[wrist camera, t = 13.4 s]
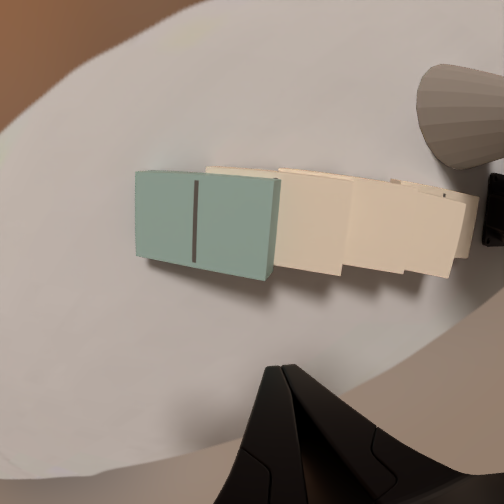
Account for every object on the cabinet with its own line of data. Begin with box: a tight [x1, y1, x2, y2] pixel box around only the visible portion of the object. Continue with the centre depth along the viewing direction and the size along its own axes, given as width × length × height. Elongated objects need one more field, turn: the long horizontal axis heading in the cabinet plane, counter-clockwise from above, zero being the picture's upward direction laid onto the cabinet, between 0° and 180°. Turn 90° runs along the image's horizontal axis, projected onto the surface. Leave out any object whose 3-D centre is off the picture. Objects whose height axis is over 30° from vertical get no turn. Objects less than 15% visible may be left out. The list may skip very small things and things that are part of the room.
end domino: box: [390, 179, 479, 258], centre depth 20 cm, size 2×5×8 cm
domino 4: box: [404, 191, 466, 278], centre depth 19 cm, size 2×5×8 cm
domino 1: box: [135, 170, 281, 281], centre depth 17 cm, size 2×5×8 cm
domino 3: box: [278, 168, 418, 274], centre depth 18 cm, size 2×5×8 cm
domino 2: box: [206, 166, 354, 276], centre depth 17 cm, size 2×5×8 cm
